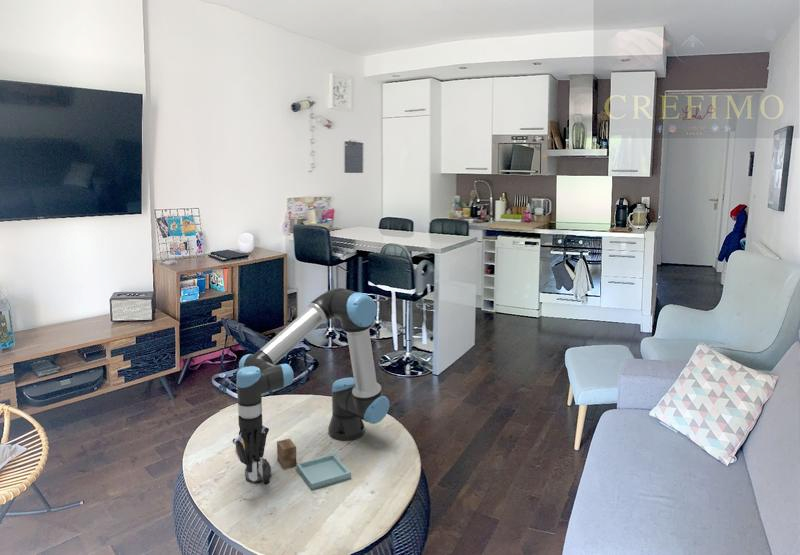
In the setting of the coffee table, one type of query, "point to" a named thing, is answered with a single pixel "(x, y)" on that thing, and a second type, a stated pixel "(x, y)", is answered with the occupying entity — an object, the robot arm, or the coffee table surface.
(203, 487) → the coffee table surface
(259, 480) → the crank base
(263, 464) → the crank
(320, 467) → the tray
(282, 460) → the stop block
